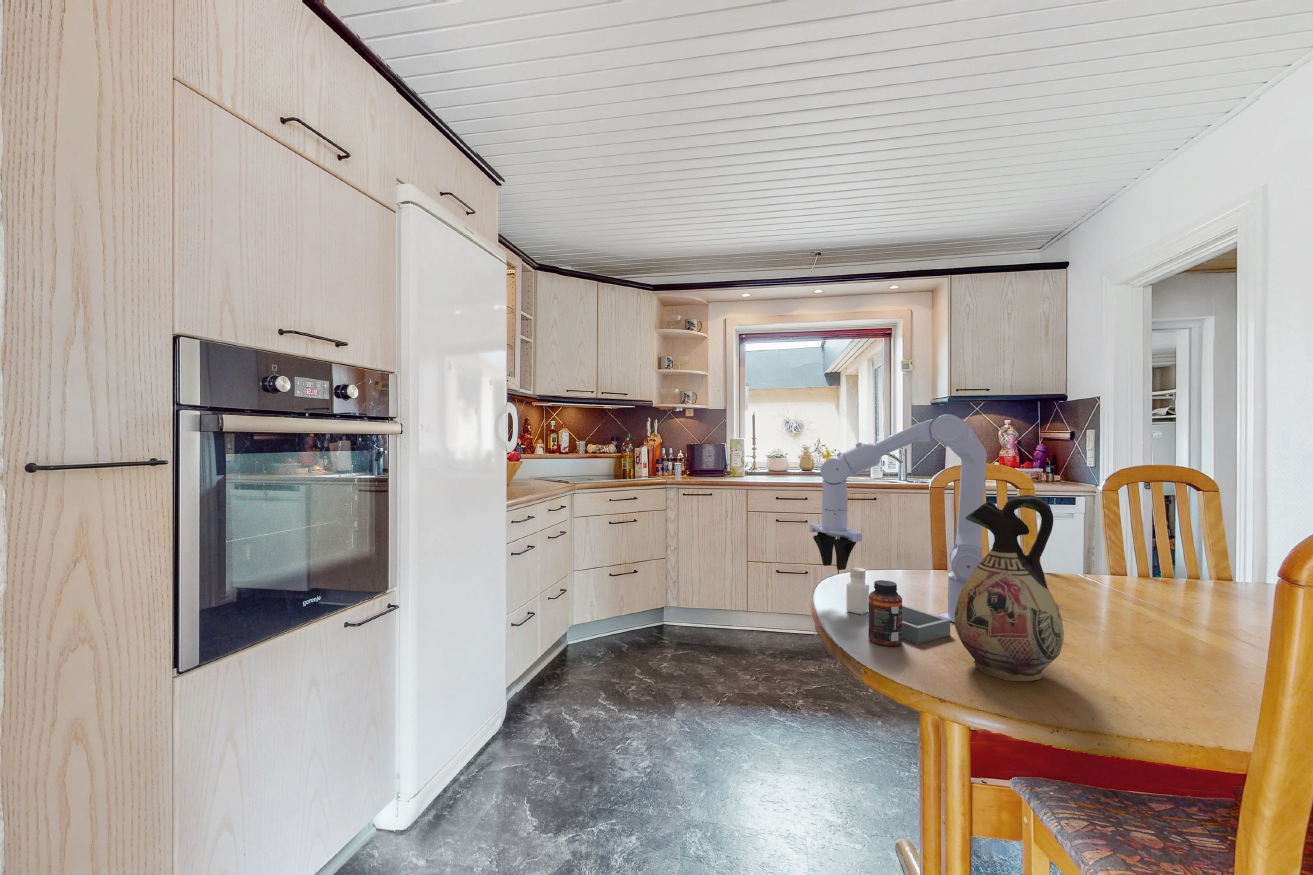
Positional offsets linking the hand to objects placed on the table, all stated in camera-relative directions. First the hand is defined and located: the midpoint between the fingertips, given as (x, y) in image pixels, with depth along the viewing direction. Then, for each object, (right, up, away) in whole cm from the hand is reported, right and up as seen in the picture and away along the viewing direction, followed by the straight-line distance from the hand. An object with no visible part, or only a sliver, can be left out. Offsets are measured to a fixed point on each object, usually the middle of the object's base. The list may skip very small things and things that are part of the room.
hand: (834, 567), depth 129 cm
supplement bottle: (+2, -9, -24) cm, 25 cm away
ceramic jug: (+18, -9, -37) cm, 42 cm away
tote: (+10, -9, -19) cm, 23 cm away
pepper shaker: (+3, -9, -6) cm, 11 cm away
